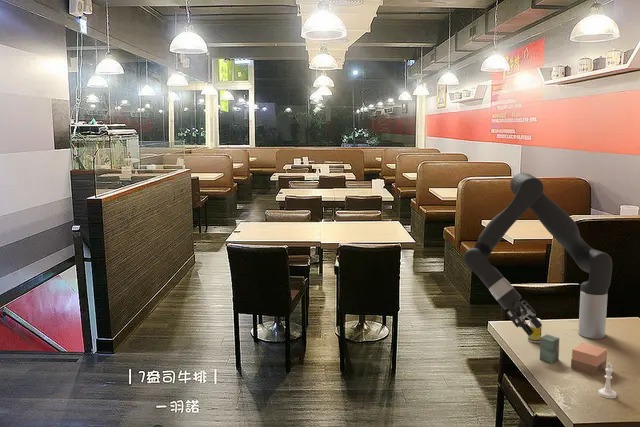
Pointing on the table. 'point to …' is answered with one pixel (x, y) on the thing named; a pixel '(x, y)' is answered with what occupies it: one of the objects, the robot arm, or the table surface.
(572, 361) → the walnut base block
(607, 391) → the chess piece
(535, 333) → the supplement bottle
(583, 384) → the table surface
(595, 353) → the terracotta top block
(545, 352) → the green pillar block
